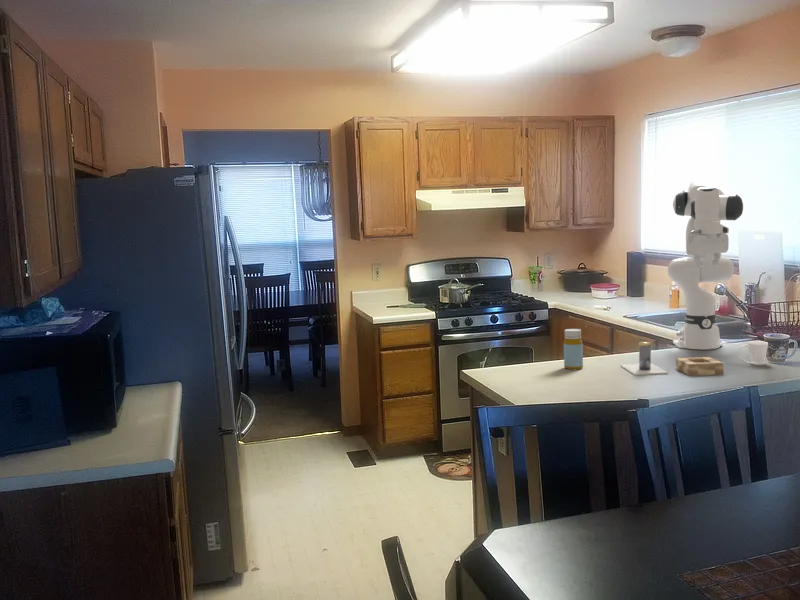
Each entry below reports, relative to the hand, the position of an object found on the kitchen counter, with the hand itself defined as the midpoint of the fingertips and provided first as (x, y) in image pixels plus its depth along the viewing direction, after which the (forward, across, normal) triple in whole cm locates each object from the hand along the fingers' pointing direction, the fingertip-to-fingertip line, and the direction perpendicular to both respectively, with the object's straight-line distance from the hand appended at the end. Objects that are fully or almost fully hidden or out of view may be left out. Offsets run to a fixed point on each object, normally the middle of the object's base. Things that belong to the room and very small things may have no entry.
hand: (707, 266), depth 257 cm
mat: (+37, -29, +5) cm, 48 cm away
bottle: (+37, -45, +25) cm, 64 cm away
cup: (+37, +9, -13) cm, 40 cm away
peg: (+36, -30, +4) cm, 47 cm away
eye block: (+37, -17, -9) cm, 42 cm away
